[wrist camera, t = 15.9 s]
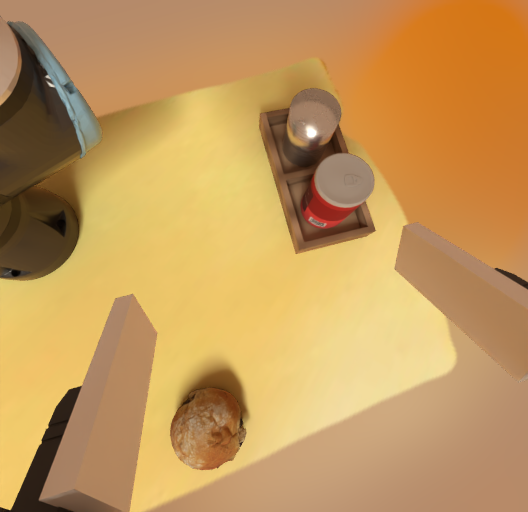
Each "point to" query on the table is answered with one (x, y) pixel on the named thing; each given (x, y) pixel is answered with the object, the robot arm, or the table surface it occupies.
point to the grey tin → (310, 126)
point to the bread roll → (207, 429)
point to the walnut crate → (296, 182)
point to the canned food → (336, 190)
